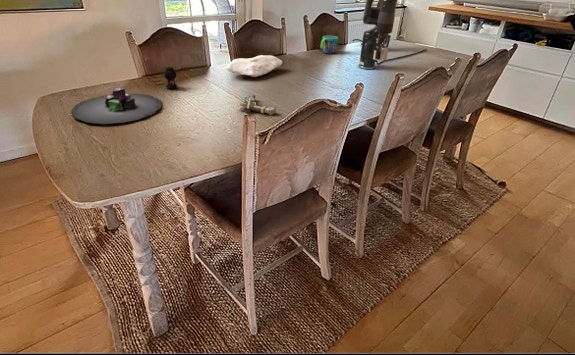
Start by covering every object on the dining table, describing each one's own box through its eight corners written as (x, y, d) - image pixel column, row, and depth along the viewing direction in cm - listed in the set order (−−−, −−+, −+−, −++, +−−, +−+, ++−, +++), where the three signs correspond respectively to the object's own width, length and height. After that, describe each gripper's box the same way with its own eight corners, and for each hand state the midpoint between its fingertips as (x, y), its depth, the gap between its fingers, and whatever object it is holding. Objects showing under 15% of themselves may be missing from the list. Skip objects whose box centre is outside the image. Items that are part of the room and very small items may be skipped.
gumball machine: (165, 90, 172) (162, 69, 166) (163, 86, 176) (159, 65, 171) (180, 88, 175) (177, 67, 169) (177, 85, 179) (174, 64, 174)
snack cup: (333, 49, 252) (334, 34, 247) (343, 53, 245) (344, 37, 239) (315, 52, 245) (316, 36, 239) (324, 55, 237) (326, 39, 232)
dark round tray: (174, 113, 149) (170, 91, 144) (79, 131, 131) (72, 107, 127) (148, 93, 173) (144, 73, 169) (65, 106, 156) (59, 85, 151)
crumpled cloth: (213, 69, 198) (213, 53, 192) (266, 60, 216) (267, 45, 210) (236, 88, 185) (236, 71, 179) (290, 76, 203) (292, 61, 197)
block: (372, 59, 181) (374, 48, 179) (377, 57, 185) (378, 47, 182) (382, 61, 179) (384, 50, 176) (386, 59, 182) (388, 48, 180)
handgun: (275, 94, 165) (242, 93, 164) (275, 109, 150) (239, 108, 149) (275, 100, 167) (242, 99, 166) (275, 115, 152) (239, 114, 151)
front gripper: (387, 24, 166) (380, 62, 175) (398, 21, 176) (392, 57, 185) (372, 22, 170) (366, 59, 179) (384, 19, 180) (378, 54, 189)
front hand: (379, 58), depth 182 cm, fingers closed on block, 5 cm apart
